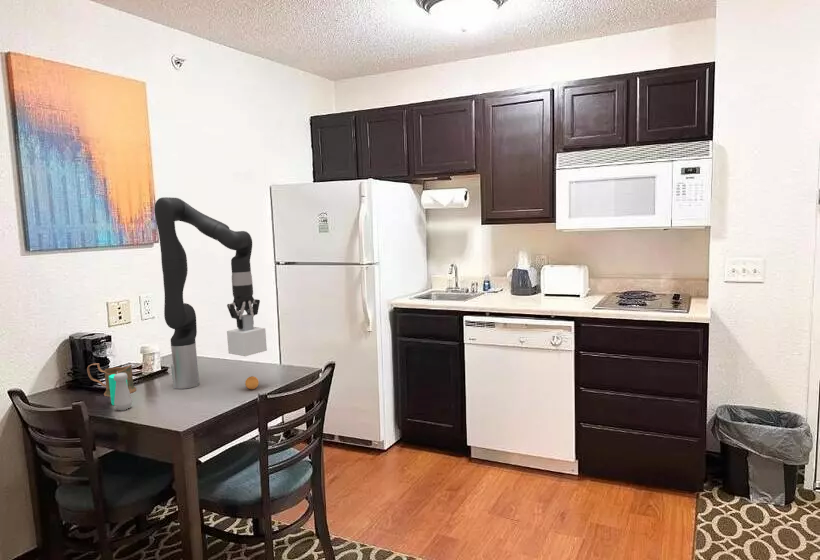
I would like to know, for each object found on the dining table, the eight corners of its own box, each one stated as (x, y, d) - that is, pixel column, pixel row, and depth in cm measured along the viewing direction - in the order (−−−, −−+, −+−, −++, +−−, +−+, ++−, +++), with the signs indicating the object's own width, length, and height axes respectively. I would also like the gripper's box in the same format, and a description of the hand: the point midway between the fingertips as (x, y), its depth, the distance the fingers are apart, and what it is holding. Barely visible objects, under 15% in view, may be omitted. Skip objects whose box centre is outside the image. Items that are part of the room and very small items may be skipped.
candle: (107, 404, 209) (104, 373, 208) (121, 399, 215) (117, 368, 213) (119, 406, 207) (116, 374, 206) (133, 400, 212) (129, 369, 211)
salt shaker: (131, 410, 201) (127, 374, 200) (113, 412, 200) (109, 376, 198) (134, 405, 207) (130, 370, 206) (116, 407, 205) (113, 372, 204)
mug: (98, 389, 230) (95, 360, 229) (141, 387, 230) (138, 358, 229) (82, 398, 219) (78, 367, 217) (128, 396, 219) (124, 365, 217)
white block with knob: (245, 356, 212) (242, 318, 211) (228, 353, 219) (225, 316, 217) (266, 350, 220) (264, 314, 219) (250, 347, 227) (247, 312, 225)
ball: (258, 390, 222) (247, 393, 218) (252, 380, 224) (241, 383, 221) (262, 381, 220) (251, 384, 216) (256, 372, 222) (245, 375, 218)
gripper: (232, 286, 209) (236, 332, 211) (263, 281, 220) (266, 325, 222) (220, 285, 213) (223, 330, 215) (251, 281, 225) (254, 323, 227)
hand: (245, 327), depth 219 cm, fingers closed on white block with knob, 4 cm apart
